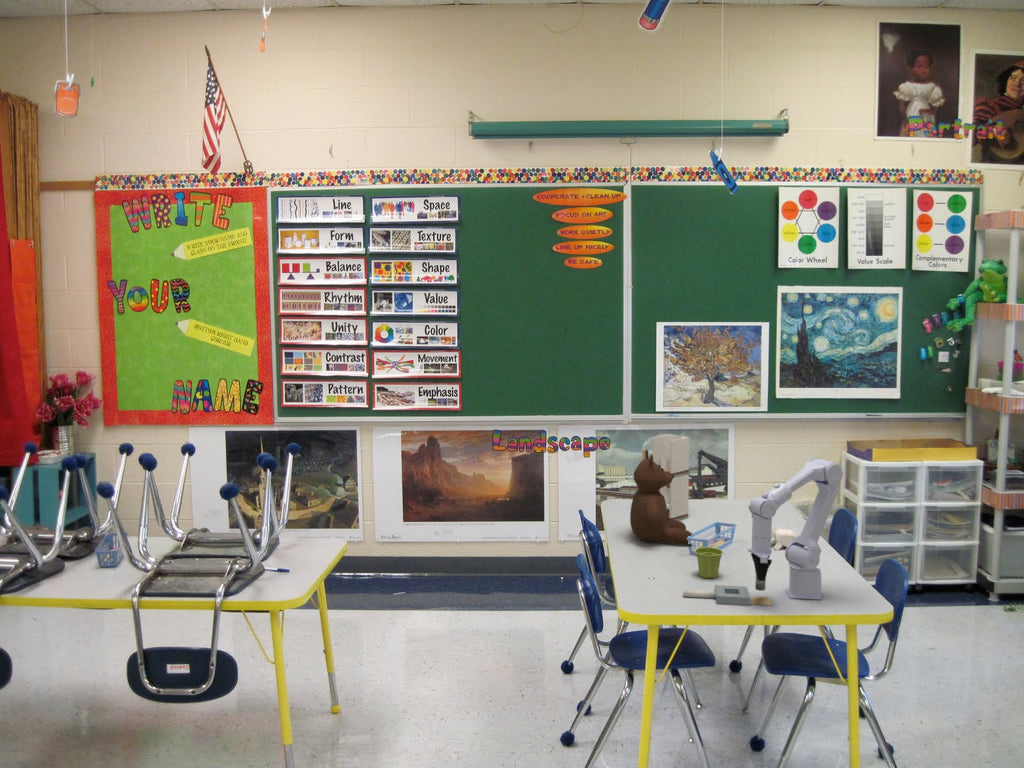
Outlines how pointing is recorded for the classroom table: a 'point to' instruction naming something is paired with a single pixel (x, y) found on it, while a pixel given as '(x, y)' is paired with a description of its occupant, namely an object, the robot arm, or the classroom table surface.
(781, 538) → the white animal figurine
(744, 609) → the classroom table surface
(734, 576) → the classroom table surface
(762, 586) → the shiny metal cylinder
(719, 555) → the plant pot
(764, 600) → the pad
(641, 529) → the stuffed bear
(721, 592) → the block
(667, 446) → the white banded box
